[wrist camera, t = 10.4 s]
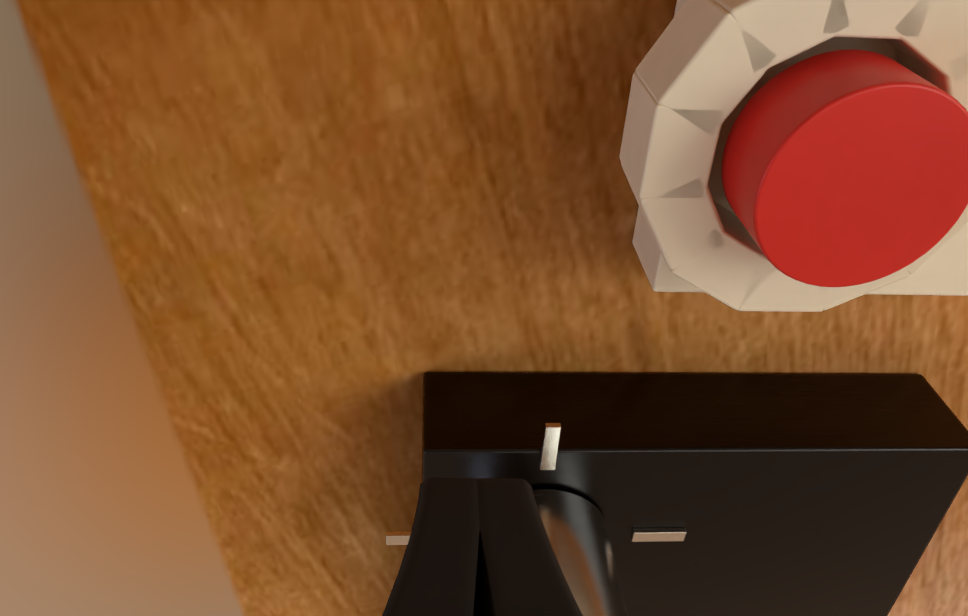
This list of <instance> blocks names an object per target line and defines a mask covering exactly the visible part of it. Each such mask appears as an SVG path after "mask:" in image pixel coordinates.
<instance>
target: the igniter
mask: <svg viewBox="0 0 968 616" xmlns="http://www.w3.org/2000/svg"><path fill="white" fill-rule="evenodd" d="M853 49H856V50H865V51H871V52H875V53H878V54H882V55H884V56H886V57H888V58H891V59H893V60H894V61H896V62H898V63H899V64H901V65H903V66H904V67H906V68H907V69H909V70H911V71H912V72H914V73H916V74H917V75H919V76H920V77H922V78H924V79H925V80H927V81H929V82H930V83H932V84H933V85H935V86H937V87H938V88H940V89H942V90H943V91H945V92H946V93H948V94H949V95H951V96H952V97H954V98H955V99H957V100H958V101H959V102H960V103H961V104H962V105H963V106H964V107H965V108H966V110H967V111H968V0H677V2H676V8H675V13H674V18H673V19H672V21H671V22H670V23H669V25H668V26H667V27H666V29H665V30H664V31H663V33H662V34H661V36H660V37H659V38H658V40H657V41H656V42H655V44H654V45H653V46H652V48H651V49H650V50H649V52H648V53H647V54H646V56H645V57H644V58H643V60H642V61H641V62H640V64H639V65H638V66H637V68H636V70H635V72H634V73H633V76H632V83H631V89H630V95H629V101H628V107H627V113H626V119H625V126H624V132H623V138H622V144H621V150H620V156H619V158H620V160H621V166H622V168H623V171H624V173H625V175H626V177H627V180H628V182H629V184H630V187H631V189H632V191H633V193H634V196H635V198H636V200H637V202H638V205H639V208H638V213H637V219H636V224H635V230H634V235H633V241H632V243H633V246H634V248H635V250H636V253H637V255H638V257H639V260H640V262H641V264H642V266H643V269H644V271H645V273H646V276H647V278H648V280H649V282H650V285H651V287H652V289H653V291H655V292H705V293H707V294H709V295H711V296H712V297H714V298H716V299H717V300H719V301H721V302H723V303H724V304H726V305H728V306H729V307H731V308H733V309H735V310H738V311H784V312H821V311H825V310H828V309H830V308H833V307H835V306H837V305H840V304H842V303H845V302H847V301H850V300H852V299H854V298H857V297H859V296H862V295H864V294H878V295H957V296H968V204H967V206H966V208H965V210H964V211H963V213H962V214H961V216H960V218H959V219H958V221H957V222H956V223H955V224H954V226H953V227H952V228H951V229H950V231H949V232H948V233H947V234H946V235H945V236H944V237H943V238H942V239H941V240H940V241H939V242H938V243H937V244H936V245H935V246H934V247H933V248H931V249H930V250H929V251H928V252H927V253H925V254H924V255H923V256H921V257H920V258H918V259H917V260H916V261H914V262H913V263H911V264H909V265H908V266H906V267H904V268H902V269H901V270H899V271H897V272H895V273H892V274H890V275H888V276H886V277H883V278H880V279H878V280H875V281H872V282H868V283H864V284H860V285H854V286H848V287H820V286H815V285H810V284H806V283H803V282H800V281H797V280H794V279H792V278H790V277H788V276H787V275H785V274H783V273H782V272H780V271H779V270H778V269H776V268H775V267H774V266H773V265H772V264H771V263H770V262H769V261H768V260H767V258H766V257H765V255H764V254H763V252H762V251H761V250H760V248H759V247H758V245H757V244H756V242H755V241H754V240H753V238H752V237H751V235H750V234H749V232H748V231H747V230H746V228H745V227H744V225H743V224H742V222H741V221H740V220H739V218H738V217H737V215H736V214H735V212H734V211H733V209H732V208H731V206H730V204H729V202H728V200H727V198H726V195H725V192H724V188H723V183H722V174H721V172H722V158H723V152H724V148H725V144H726V141H727V138H728V135H729V133H730V131H731V128H732V126H733V124H734V122H735V120H736V119H737V117H738V115H739V114H740V112H741V110H742V109H743V108H744V107H745V105H746V104H747V103H748V101H749V100H750V99H751V98H752V97H753V96H754V94H755V93H756V92H757V91H758V90H759V89H760V88H761V87H762V86H764V85H765V84H766V83H767V82H768V81H769V80H770V79H772V78H773V77H774V76H776V75H777V74H779V73H780V72H782V71H783V70H785V69H786V68H788V67H790V66H792V65H794V64H796V63H797V62H800V61H802V60H804V59H807V58H809V57H812V56H815V55H819V54H822V53H826V52H831V51H837V50H853Z"/></svg>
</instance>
